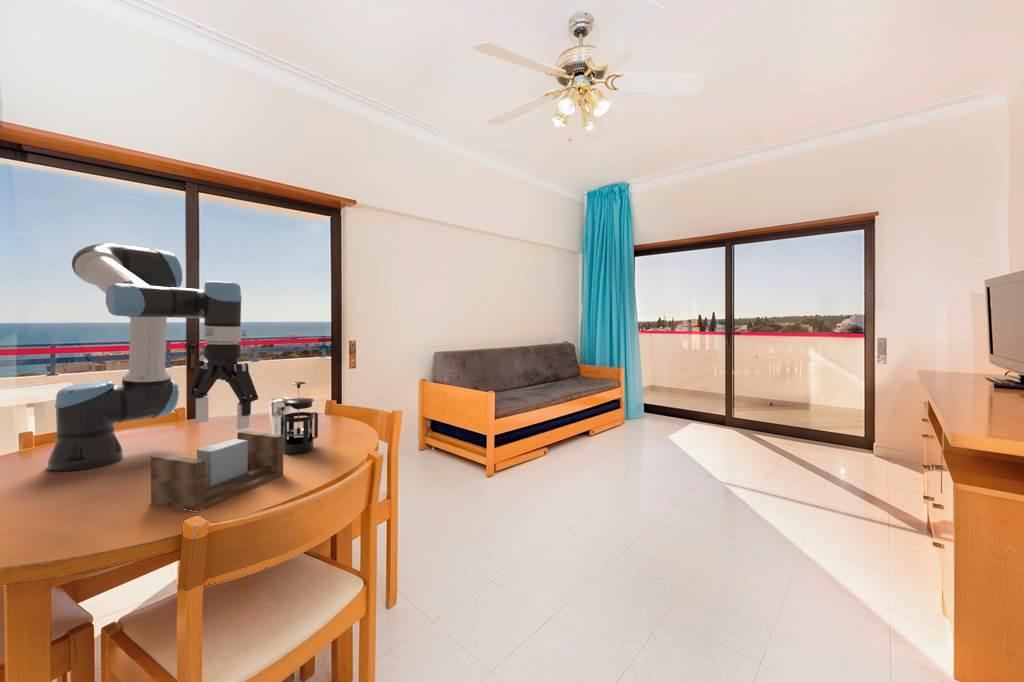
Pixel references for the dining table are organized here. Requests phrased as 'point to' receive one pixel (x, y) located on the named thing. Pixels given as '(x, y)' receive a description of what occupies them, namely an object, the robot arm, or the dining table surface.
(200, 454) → the plain grey rectangular block
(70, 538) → the dining table surface
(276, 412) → the white silver canister
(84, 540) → the dining table surface
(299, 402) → the french press
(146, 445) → the dining table surface
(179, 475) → the track base
